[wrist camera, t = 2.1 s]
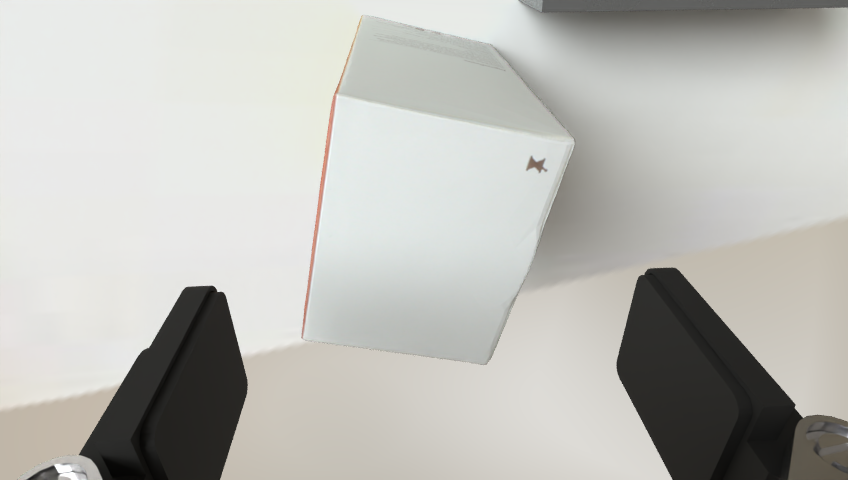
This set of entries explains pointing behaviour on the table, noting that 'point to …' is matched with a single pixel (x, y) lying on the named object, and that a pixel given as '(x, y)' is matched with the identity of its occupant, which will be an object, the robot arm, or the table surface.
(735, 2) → the cradle
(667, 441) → the robot arm
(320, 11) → the table surface
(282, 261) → the table surface
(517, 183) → the small box
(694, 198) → the table surface
